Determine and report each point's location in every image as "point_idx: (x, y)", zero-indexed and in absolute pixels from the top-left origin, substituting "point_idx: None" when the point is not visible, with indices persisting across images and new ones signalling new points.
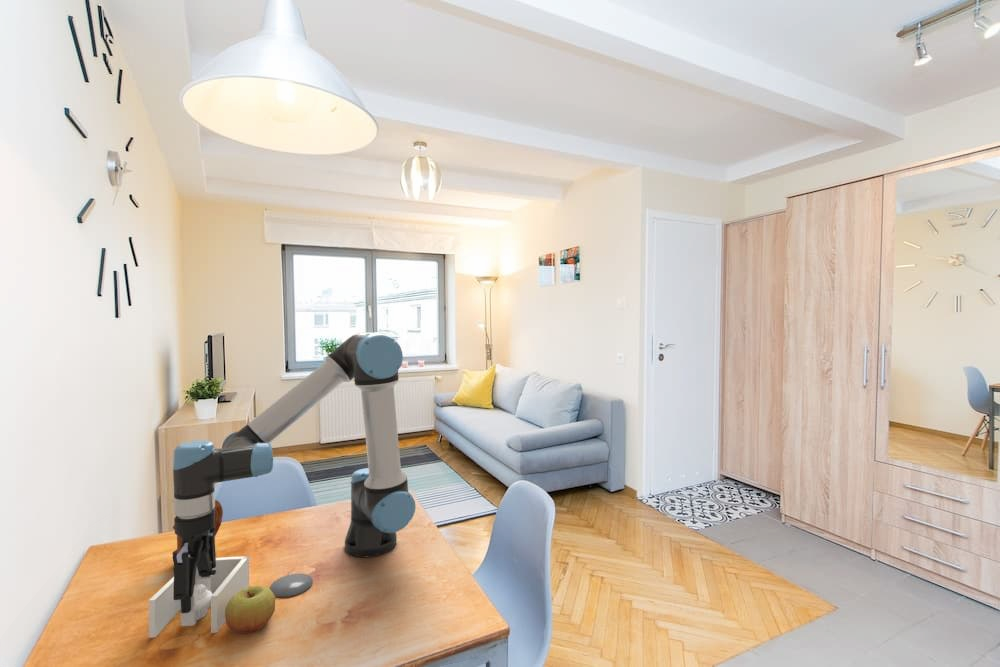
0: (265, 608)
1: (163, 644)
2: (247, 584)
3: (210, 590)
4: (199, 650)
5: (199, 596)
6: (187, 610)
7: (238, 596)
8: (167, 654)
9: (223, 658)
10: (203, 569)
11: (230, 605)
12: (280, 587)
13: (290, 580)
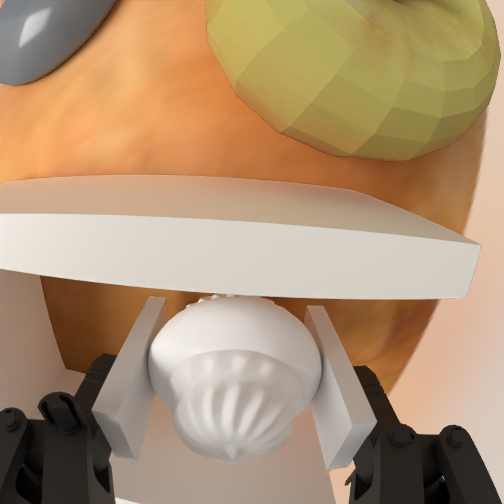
0: None
1: (359, 357)
2: (11, 183)
3: (132, 343)
4: (438, 223)
5: (286, 388)
6: (374, 378)
7: (454, 57)
8: (417, 320)
9: (485, 131)
10: (103, 495)
11: (475, 117)
12: (50, 29)
13: (19, 23)
